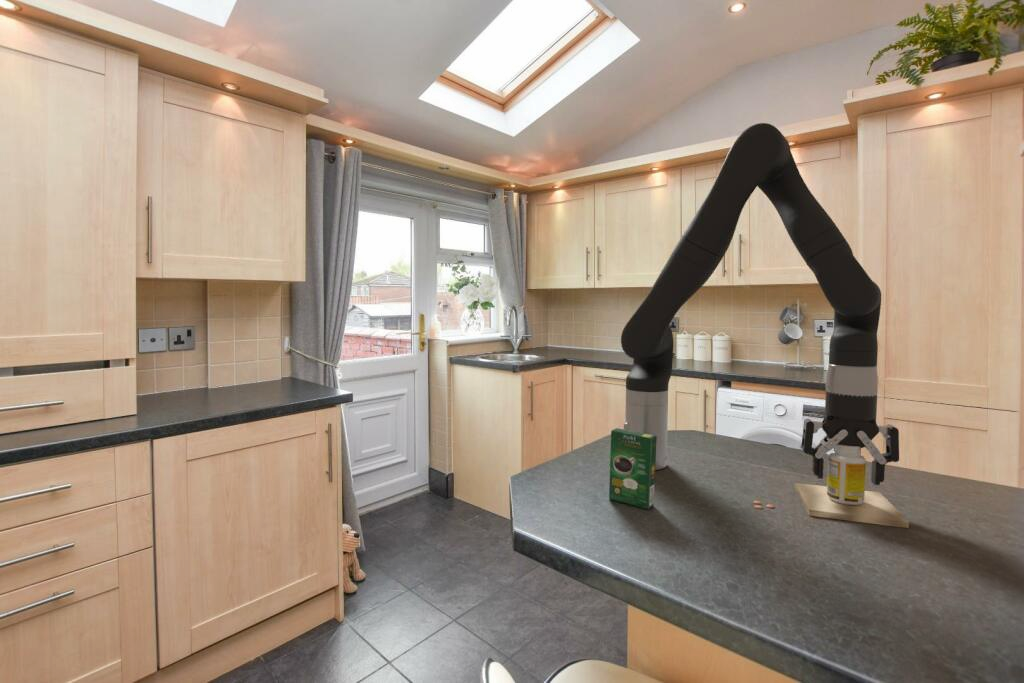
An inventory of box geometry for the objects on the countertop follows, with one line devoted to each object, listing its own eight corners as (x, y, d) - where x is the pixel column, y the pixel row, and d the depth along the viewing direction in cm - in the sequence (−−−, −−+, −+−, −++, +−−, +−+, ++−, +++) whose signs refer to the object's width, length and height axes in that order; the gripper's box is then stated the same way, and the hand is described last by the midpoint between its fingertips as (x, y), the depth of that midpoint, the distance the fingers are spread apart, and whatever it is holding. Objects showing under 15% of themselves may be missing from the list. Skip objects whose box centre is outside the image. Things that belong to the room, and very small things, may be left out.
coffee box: (656, 505, 89) (657, 433, 88) (650, 511, 87) (651, 436, 86) (615, 495, 94) (616, 427, 93) (608, 500, 92) (609, 429, 91)
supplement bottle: (868, 501, 89) (871, 444, 88) (858, 509, 85) (860, 450, 84) (832, 492, 93) (835, 438, 92) (821, 499, 89) (824, 443, 89)
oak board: (809, 515, 85) (809, 509, 85) (794, 487, 98) (794, 482, 98) (908, 528, 80) (909, 522, 80) (879, 497, 93) (879, 492, 93)
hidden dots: (754, 508, 88) (754, 507, 88) (752, 500, 92) (752, 500, 91) (776, 510, 87) (776, 510, 87) (773, 503, 90) (773, 502, 90)
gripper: (809, 391, 87) (805, 482, 88) (908, 396, 82) (903, 493, 83) (800, 385, 94) (797, 469, 95) (892, 389, 89) (887, 478, 90)
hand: (846, 480), depth 89 cm, fingers open, 8 cm apart
